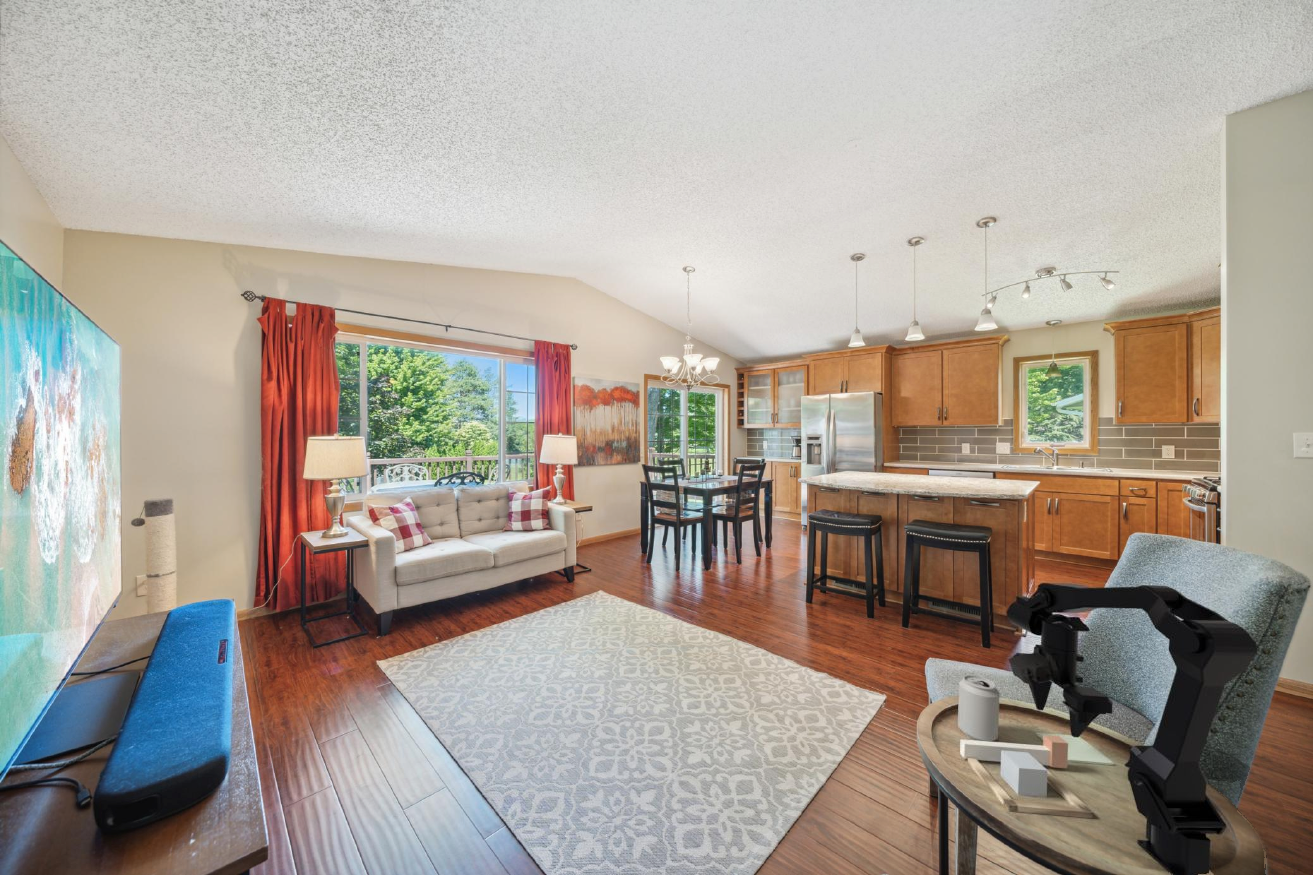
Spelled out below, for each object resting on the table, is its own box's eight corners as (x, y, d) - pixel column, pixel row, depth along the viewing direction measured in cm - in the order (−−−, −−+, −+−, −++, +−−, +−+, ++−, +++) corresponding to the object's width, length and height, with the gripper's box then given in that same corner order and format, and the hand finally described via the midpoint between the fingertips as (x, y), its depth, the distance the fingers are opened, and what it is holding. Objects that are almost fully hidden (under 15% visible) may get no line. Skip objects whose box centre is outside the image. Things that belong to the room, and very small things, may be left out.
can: (1004, 747, 102) (1006, 691, 102) (966, 741, 103) (968, 686, 103) (988, 726, 109) (989, 674, 109) (952, 721, 110) (953, 670, 111)
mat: (1114, 765, 97) (1114, 763, 97) (1067, 761, 98) (1067, 759, 98) (1078, 737, 106) (1078, 735, 106) (1036, 734, 107) (1036, 732, 107)
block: (1046, 797, 88) (1047, 770, 88) (1018, 794, 88) (1019, 768, 88) (1027, 778, 92) (1028, 752, 93) (1000, 775, 93) (1001, 750, 93)
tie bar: (1067, 768, 95) (1068, 743, 95) (965, 760, 96) (966, 735, 96) (1057, 760, 97) (1058, 735, 97) (958, 752, 98) (959, 728, 98)
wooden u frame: (1093, 818, 83) (1093, 812, 83) (1008, 811, 84) (1009, 805, 84) (1040, 768, 95) (1040, 763, 95) (967, 762, 96) (967, 757, 96)
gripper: (988, 625, 106) (986, 695, 106) (1052, 664, 87) (1049, 749, 87) (1041, 628, 105) (1038, 698, 105) (1116, 668, 86) (1114, 754, 86)
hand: (1056, 722), depth 96 cm, fingers open, 9 cm apart
